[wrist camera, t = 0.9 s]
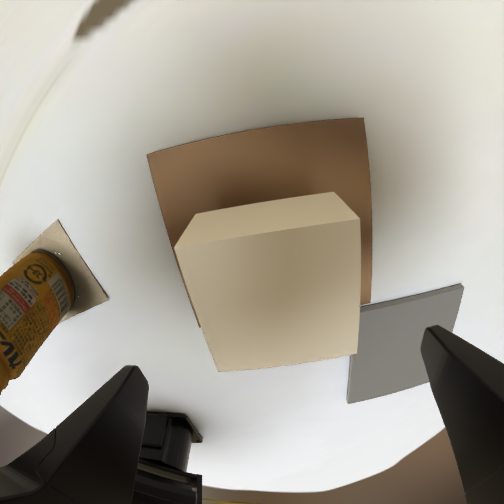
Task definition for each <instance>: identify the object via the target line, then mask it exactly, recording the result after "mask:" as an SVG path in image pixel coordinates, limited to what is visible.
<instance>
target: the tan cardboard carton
mask: <svg viewBox="0 0 504 504" xmlns="http://www.w3.org/2000/svg"><path fill="white" fill-rule="evenodd" d="M174 250H175V253H176V256H177V259H178V262H179V265H180V268H181V271H182V275H183V278H184V281H185V284H186V286H187V289H188V292H189V295H190V298H191V301H192V304H193V307H194V309H195V312H196V315H197V318H198V321H199V323H200V326H201V329H202V331H203V334H204V337H205V339H206V342H207V345H208V347H209V350H210V352H211V355H212V357H213V360H214V362H215V365H216V367H217V370H218V372H226V371H239V370H250V369H260V368H270V367H278V366H286V365H293V364H300V363H307V362H313V361H319V360H325V359H331V358H336V357H342V356H347V355H352V354H357V348H358V335H359V319H360V295H361V232H360V218H359V217H358V216H357V215H356V214H355V213H354V212H353V211H352V210H351V209H350V208H349V207H348V206H347V204H346V203H345V202H344V201H343V200H342V199H341V198H340V197H339V196H338V195H337V194H336V193H335V192H328V193H320V194H313V195H306V196H299V197H292V198H285V199H279V200H272V201H266V202H260V203H254V204H248V205H242V206H236V207H230V208H225V209H219V210H214V211H208V212H203V213H198V214H195V216H194V217H193V219H192V220H191V222H190V223H189V225H188V226H187V228H186V229H185V231H184V233H183V234H182V236H181V237H180V239H179V240H178V242H177V244H176V245H175V247H174Z"/></svg>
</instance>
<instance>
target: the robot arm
mask: <svg viewBox="0 0 504 504" xmlns="http://www.w3.org/2000/svg"><path fill="white" fill-rule="evenodd" d="M420 351H421V355H422V358H423V361H424V365H425V368H426V371H427V375H428V378H429V382H430V386H431V389H432V392H433V395H434V398H435V400H436V403H437V406H438V408H439V411H440V414H441V416H442V419H443V422H444V425H445V427H446V430H447V433H448V436H449V439H450V442H451V445H452V449H453V452H454V455H455V458H456V461H457V465H458V469H459V472H460V476H461V479H462V483H463V488H464V492H465V497H466V501H467V504H504V364H503V363H502V362H500V361H498V360H497V359H495V358H493V357H492V356H490V355H489V354H487V353H485V352H484V351H482V350H480V349H479V348H477V347H475V346H474V345H472V344H470V343H469V342H467V341H465V340H464V339H462V338H460V337H458V336H457V335H455V334H453V333H452V332H450V331H448V330H447V329H445V328H443V327H441V326H440V325H432V326H429V327H426V329H425V331H424V334H423V338H422V342H421V346H420ZM148 391H149V385H148V381H147V380H146V378H145V376H144V375H143V373H142V372H141V370H140V368H139V367H138V366H136V365H127V366H125V367H123V368H122V369H121V370H120V371H119V372H118V373H117V374H115V375H114V376H113V377H112V378H111V379H110V380H109V381H108V382H106V383H105V384H104V385H103V386H102V387H101V388H100V389H99V390H97V391H96V392H95V393H94V394H93V395H92V396H91V397H90V398H88V399H87V400H86V401H85V402H84V403H83V404H82V405H81V406H79V407H78V408H77V409H76V410H75V411H74V412H73V413H72V414H70V415H69V416H68V417H67V418H66V419H65V420H64V421H63V422H61V423H60V424H59V425H58V426H57V427H56V429H53V430H52V431H51V432H50V433H49V434H48V435H47V436H46V437H44V438H43V439H42V440H41V441H40V442H38V443H37V444H36V445H34V446H33V447H32V448H30V449H29V450H28V451H26V452H25V453H24V454H22V455H21V456H19V457H18V458H17V459H15V460H14V461H12V462H11V463H9V464H8V465H6V466H3V467H0V504H202V475H199V474H197V475H196V474H192V473H188V472H186V471H187V465H188V459H189V453H190V448H191V442H192V443H202V440H203V439H202V437H201V436H200V434H199V433H198V432H197V430H196V429H195V427H194V426H193V425H192V423H191V422H190V420H189V419H188V417H187V416H186V415H184V414H167V413H151V412H146V410H147V400H148Z"/></svg>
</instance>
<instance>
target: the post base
mask: <svg viewBox="0 0 504 504" xmlns="http://www.w3.org/2000/svg"><path fill="white" fill-rule="evenodd" d="M147 159H148V163H149V167H150V171H151V175H152V179H153V183H154V187H155V190H156V194H157V198H158V201H159V205H160V209H161V212H162V216H163V219H164V222H165V226H166V229H167V233H168V236H169V239H170V242H171V246H172V249H173V252H174V255H175V258H176V262H177V265H178V268H179V271H180V274H181V277H182V280H183V283H184V286H185V289H186V291H187V294H188V297H189V300H190V303H191V306H192V308H193V311H194V314H195V317H196V319H197V322H198V325H199V327H201V326H200V323H199V321H198V318H197V315H196V312H195V309H194V307H193V304H192V301H191V298H190V295H189V292H188V289H187V286H186V284H185V281H184V278H183V275H182V271H181V268H180V265H179V262H178V259H177V256H176V253H175V250H174V247H175V245H176V244H177V242H178V240H179V239H180V237H181V236H182V234H183V233H184V231H185V229H186V228H187V226H188V225H189V223H190V222H191V220H192V219H193V217H194V216H195V214H198V213H203V212H208V211H214V210H219V209H225V208H230V207H236V206H242V205H248V204H254V203H260V202H266V201H272V200H279V199H285V198H292V197H299V196H306V195H313V194H320V193H328V192H335V193H336V194H337V195H338V196H339V197H340V198H341V199H342V200H343V201H344V202H345V203H346V204H347V206H348V207H349V208H350V209H351V210H352V211H353V212H354V213H355V214H356V215H357V216H358V217H359V218H360V232H361V295H360V305H363V304H368V303H370V300H371V280H372V208H371V188H370V173H369V161H368V150H367V141H366V133H365V125H364V118H347V119H333V120H322V121H312V122H303V123H295V124H287V125H280V126H273V127H267V128H261V129H255V130H249V131H243V132H238V133H233V134H228V135H223V136H218V137H213V138H209V139H204V140H200V141H195V142H191V143H187V144H183V145H179V146H175V147H172V148H168V149H164V150H160V151H157V152H153V153H150V154H147Z"/></svg>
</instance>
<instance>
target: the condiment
mask: <svg viewBox="0 0 504 504" xmlns="http://www.w3.org/2000/svg"><path fill="white" fill-rule="evenodd" d="M54 252H56V253H57V254H55V253H54ZM58 253H60V254H61V255H59V254H58ZM13 264H14V265H13V266H12V267H11V268H9V269H8V270H7V271H6V272H4V273H3V275H1V276H0V395H1V392H2V390H3V389H5V388H6V387H7V385H8V382H9V380H12V379H16V378H18V377H19V376H20V375H21V373H22V372H23V371H24V369H25V367H26V366H27V365H28V363H29V362H30V361H31V359H32V357H33V356H34V355H35V353H36V352H37V350H38V349H39V348H40V346H42V344H43V342H44V341H45V340H46V338H47V337H48V336H49V335H50V333H51V332H52V331H53V329H54V328H55V327H56V326H57V325H58V324H59V323H60V322H62V321H64V320H66V319H69V318H70V317H72V316H75V315H77V314H79V313H81V312H84V311H86V310H88V309H90V308H92V307H94V306H96V305H99V304H101V303H103V302H105V301H107V300H108V298H107V297H106V295H105V294H104V292H103V290H102V288H101V287H100V286H99V284H98V282H97V281H96V279H95V278H94V277H93V275H92V274H91V272H90V270H89V269H88V267H87V266H86V264H85V263H84V261H83V260H82V258H81V257H80V254H79V252H78V251H77V250H76V249H75V248H74V246H73V245H72V243H71V241H70V239H69V238H68V236H67V234H66V233H65V232H64V230H63V228H62V227H61V225H60V223H59V222H58V220H57V221H56V222H54V223H53V224H52V225H51V226H50V227H49V228H48V229H47V230H45V231H44V232H43V233H42V234H41V235H40V236H39V237H38V238H37V239H36V240H35V241H34V242H33V243H32V244H31V245H30V246H29V247H28V248H26V249H25V250H24V251H23V252H22V253H21V254H20V255H19V256H18V258H17V259H16V260H15V261H13ZM78 296H79V297H78Z"/></svg>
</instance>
